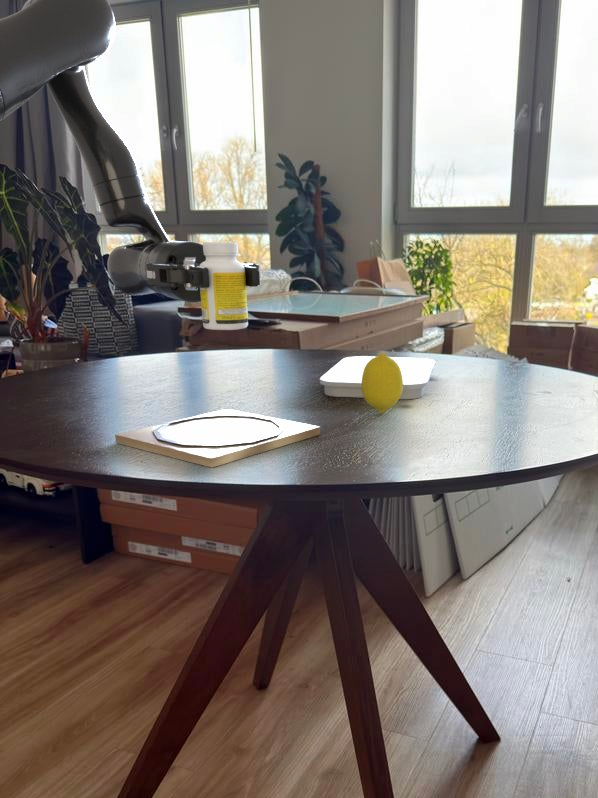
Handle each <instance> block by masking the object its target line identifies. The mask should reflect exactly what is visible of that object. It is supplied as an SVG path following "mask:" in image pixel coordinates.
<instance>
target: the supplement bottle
mask: <svg viewBox="0 0 598 798" xmlns="http://www.w3.org/2000/svg"><path fill="white" fill-rule="evenodd" d="M202 245H203V252H204V255H205V256H206V260H205V261H204V262H202V263H201V264H200V266H199V267H206V268H208V271H209V288H200V294H201V302H200V304H201V307H200V308H201V316H202V318H201V319H202V320H201V321H202V326H203V328H204V329H206V330H212V331H237V330H243V329H247V327H248V326H249V313H248V294H247V287H246V276H245V268H244V265H243V264H242V263H243V262H240V261H238V260H237V256H238V255H239V244H238V242H224V241H222V242H221V241H220V242H215V241H211V242H208V241H207V242H202Z"/></svg>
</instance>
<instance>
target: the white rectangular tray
mask: <svg viewBox="0 0 598 798" xmlns="http://www.w3.org/2000/svg"><path fill="white" fill-rule="evenodd" d="M374 357H375V356H368V355H360V356H359V355H358V356H357V355H355V356H354V355H353V356H347V357H344V358H342V359H341V360H340V361H338V362H337V363H336V364H335V365H333V366H332V367H331V368H330V369H329V370H328V371H326V372H325V373H324V374H323V375H322V376H320V378H319V384H320V385H322V386H324V395H326V396H328V397H335V398H336V397H338V398H362V399H363V398H364V396H363V393H362V387H361V381H362V374H363V371H364V368H365V366H366V364H367V363H368V362H369V361H370V360H371V359H372V358H374ZM389 357H390V358H392V359H393V360H395V361H396V363H397V364H398V365H399V367H400V369H401V373H402V378H403V389H402V393H401V396H400V398H399V400H416V399H420V398H423V396H424V393H425V391H426V388H427V386H428V384H429V382H430V379H431V377H432V374H433V372H434V369H435V366H436V360H435V359H432V358H426V357H405V356H402V357H401V356H399V357H398V356H394V357H393V356H389ZM364 399H365V398H364Z"/></svg>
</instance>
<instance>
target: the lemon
mask: <svg viewBox="0 0 598 798" xmlns="http://www.w3.org/2000/svg"><path fill="white" fill-rule="evenodd" d="M373 357H374V358H372V359H371V360H370V361H369V362H368V363H367V364H366V366H365V368H364V371H363V374H362V381H361V387H362V393H363V396H364V400H365V401H366V403H367V404H368V405H370V406H371V407H373V408H374V409H376V410H377V412H378V413H380V414H384V413H385V412H387V410H388V409H390V408H392V407H393V406H395V405H396V404H397V403H398V401H399V400H400V399H399V398H400V396H401V393H402V389H403V378H402V373H401V369H400V367H399V365H398V364H397V363H396V361H395V360H393V359H392V358H390V357H391V356H388V355H387V354H386V353H384V352H380V353H378V355H377V356H373Z"/></svg>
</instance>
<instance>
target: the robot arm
mask: <svg viewBox="0 0 598 798" xmlns="http://www.w3.org/2000/svg"><path fill="white" fill-rule="evenodd" d="M115 20H116V19H115V16H114V12H113V9H112V6H111V4H110V3H109V1H108V0H26V1H25V3H24V4H23V6H22V8H21V10H18V12H15V13H13V14H10V15H8V16H5V17H1V18H0V123H1V122H2V121H4V120H5V119H6V118H7V117H8V116H10V115H11V114H13V113H14V112H16V111H17V110H18V109H19V108H21V107H22V106H23V105H24V104H25V103H26V102H28V101H29V100H30V99H31V98H33V97H34V96H35V95H36V94H38V92H39V91H40V90H42V89H43V88H44V87H45V86H47V87H48V90H49V93H50V94H51V96H52V98H53V100H54V102H55V104H56V106H57V107H58V110H59V112H60V114H61V116H62V118H63V120H64V122H65V124H66V126H67V128H68V130H69V132H70V134H71V136H72V138H73V140H74V142H75V144H76V146H77V149H78V152H79V154H80V156H81V158H82V161H83V163H84V166H85V168H86V172H87V175H88V177H89V180H90V183H91V185H92V188H93V192H94V194H95V197H96V201H97V203H98V206H99V209H100V212H101V214H102V217H103V219H104V222H105V223H106V225H107V226H108V227H110V228H115V229H116V228H117V229H134V230H136V231H137V232H139V233H140V234H141V235H142V236H143V238H144V239H145V240H142V241H137V242H133V243H128V244H123V245H120V246H117V247H115V248H113V249H112V250H111V252H110V253H109V255H108V258H107V265H106V266H107V272H108V275H109V278H110V280H111V281H112V283H113V284H114V286H115V287H116V288H117V289H118V290H119V291H120V292H122V293H124V294H125V295H128V296H134V297H135V296H144V295H151V294H160V295H163V296H165V297H167V298H170V299H174V300H178V301H183V302H186V303H193V304H194V303H195V304H196V303H201V294H200V288H209V271H208V268H206V267H199V266H200V264H201V263H202V262H204V261H205V260H206V256H205V255H204V252H203V243H200V242H196V241H180V240H171V239H170V238H169V236H168V235H167V233H166V232H165V230H164V227H162V225H161V223H160V221H159V220H158V217H157V216H156V214H155V211H154V210H153V208H152V206H151V203H150V200H149V197H148V194H147V191H146V187H145V185H144V182H143V178H142V175H141V172H140V169H139V166H138V164H137V162H136V160H135V159H136V158H135V157H134V155H133V153H132V152H131V149H130V148H129V147H128V145H127V143H126V142H125V141H124V140H123V138H122V137H121V136H120V134H119V133H118V132H117V131H116V130H115V129H114V127H113V126H112V125H111V123H110V122H109V121H108V119H107V118H106V117H105V115H104V114H103V112H102V111H101V109H100V108H99V106H98V104H97V103H96V100H95V98H94V97H93V93H92V91H91V88H90V85H89V81H88V78H87V74H86V73H87V72H86V70H85V66H87V65H89V64H91V63H92V62H94V61H96V60H97V59H100V58H102V57H104V55H105V54H106V53H107V52H108V51H109V50H110V48H111V47H112V45H113V42H114V40H115V36H116V21H115ZM241 263H242V264H243V265H244V268H245V276H246V288H247V287H250V288H253V287H254V288H257V287H258V286H261V276H260V275H261V273H260V272H261V271H260V270H261V269H260V268H261V265H260V264H258V263H256V262H255V263H254V262H253V263H250V262H249V261H244V262H241Z"/></svg>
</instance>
